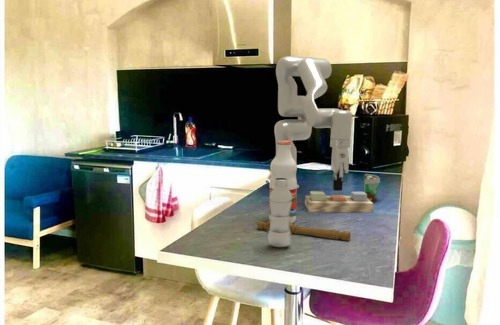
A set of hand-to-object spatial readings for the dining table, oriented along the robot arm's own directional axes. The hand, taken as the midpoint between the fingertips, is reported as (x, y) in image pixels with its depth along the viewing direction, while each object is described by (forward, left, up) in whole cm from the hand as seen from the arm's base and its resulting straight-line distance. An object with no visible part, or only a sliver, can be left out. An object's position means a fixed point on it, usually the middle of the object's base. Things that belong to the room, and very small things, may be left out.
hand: (337, 190), depth 176 cm
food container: (+17, +13, -7) cm, 23 cm away
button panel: (0, -1, -7) cm, 7 cm away
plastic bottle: (-26, -45, -7) cm, 52 cm away
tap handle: (-18, -33, -8) cm, 39 cm away
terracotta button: (0, -1, -6) cm, 6 cm away
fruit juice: (-23, -19, -7) cm, 30 cm away
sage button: (-8, -1, -4) cm, 9 cm away
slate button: (+8, -1, -4) cm, 9 cm away
